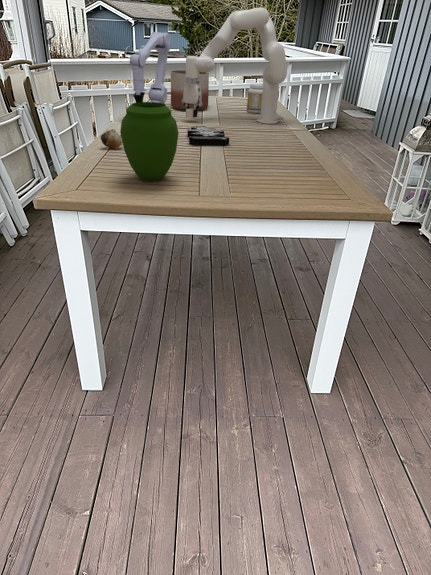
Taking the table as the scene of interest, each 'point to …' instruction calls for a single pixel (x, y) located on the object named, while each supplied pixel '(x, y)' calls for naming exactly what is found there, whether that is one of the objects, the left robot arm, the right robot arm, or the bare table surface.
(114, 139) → the seashell
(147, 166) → the vase
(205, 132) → the sign
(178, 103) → the planter
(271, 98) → the right robot arm
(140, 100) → the left robot arm
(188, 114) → the grey square block
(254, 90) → the supplement tub
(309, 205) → the table surface
